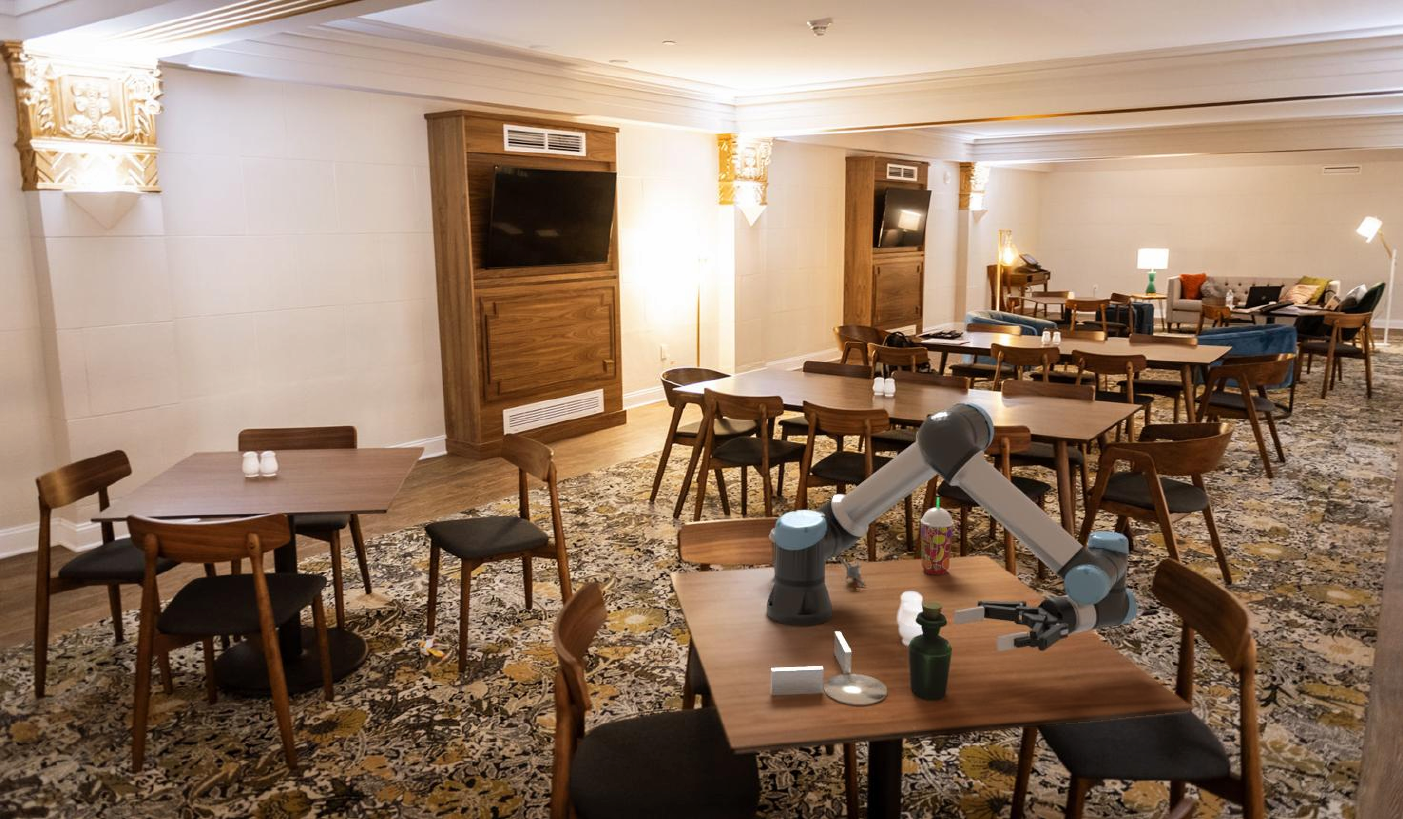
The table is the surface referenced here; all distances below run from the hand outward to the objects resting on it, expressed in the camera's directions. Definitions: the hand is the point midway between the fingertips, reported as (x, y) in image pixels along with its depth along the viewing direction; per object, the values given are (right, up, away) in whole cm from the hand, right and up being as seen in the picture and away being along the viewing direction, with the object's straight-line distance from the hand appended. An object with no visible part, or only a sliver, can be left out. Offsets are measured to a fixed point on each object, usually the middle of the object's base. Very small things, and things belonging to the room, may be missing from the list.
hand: (975, 630), depth 187 cm
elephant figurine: (-15, -1, +59) cm, 61 cm away
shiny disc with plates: (-25, -11, +3) cm, 28 cm away
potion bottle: (-9, -12, -1) cm, 15 cm away
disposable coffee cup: (-31, 0, +63) cm, 70 cm away
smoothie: (+8, 0, +65) cm, 66 cm away
